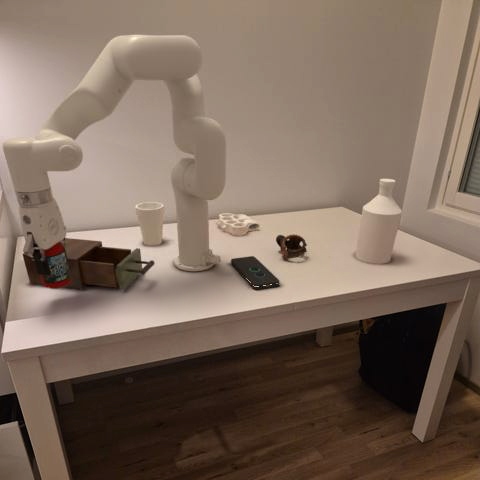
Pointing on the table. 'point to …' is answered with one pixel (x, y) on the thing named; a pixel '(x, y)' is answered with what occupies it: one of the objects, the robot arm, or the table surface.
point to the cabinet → (74, 253)
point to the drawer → (112, 267)
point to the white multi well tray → (237, 223)
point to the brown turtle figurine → (291, 246)
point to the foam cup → (151, 222)
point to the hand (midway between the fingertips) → (53, 267)
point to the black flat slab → (254, 272)
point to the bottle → (379, 226)
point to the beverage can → (56, 267)
